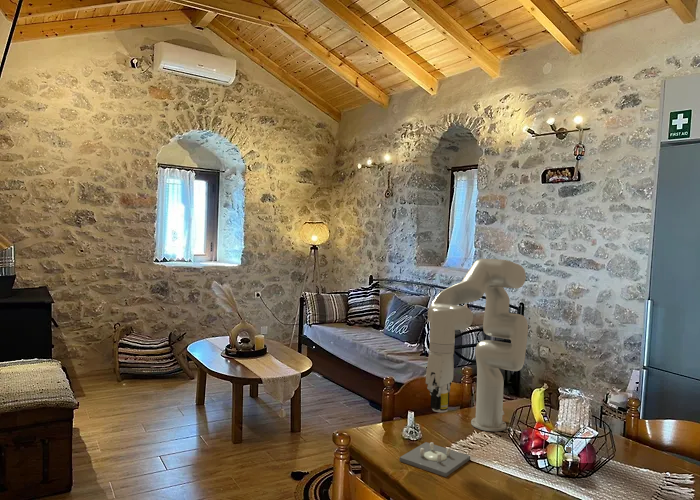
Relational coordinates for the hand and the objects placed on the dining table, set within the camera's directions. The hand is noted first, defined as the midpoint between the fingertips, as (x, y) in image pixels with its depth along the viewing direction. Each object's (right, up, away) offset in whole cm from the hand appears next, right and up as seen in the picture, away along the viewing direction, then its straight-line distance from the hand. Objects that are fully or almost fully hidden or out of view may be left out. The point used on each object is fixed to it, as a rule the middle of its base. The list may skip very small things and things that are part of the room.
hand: (439, 405), depth 165 cm
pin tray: (-1, -17, +1) cm, 17 cm away
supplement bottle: (0, -2, 0) cm, 2 cm away
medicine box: (+36, -19, -3) cm, 41 cm away
